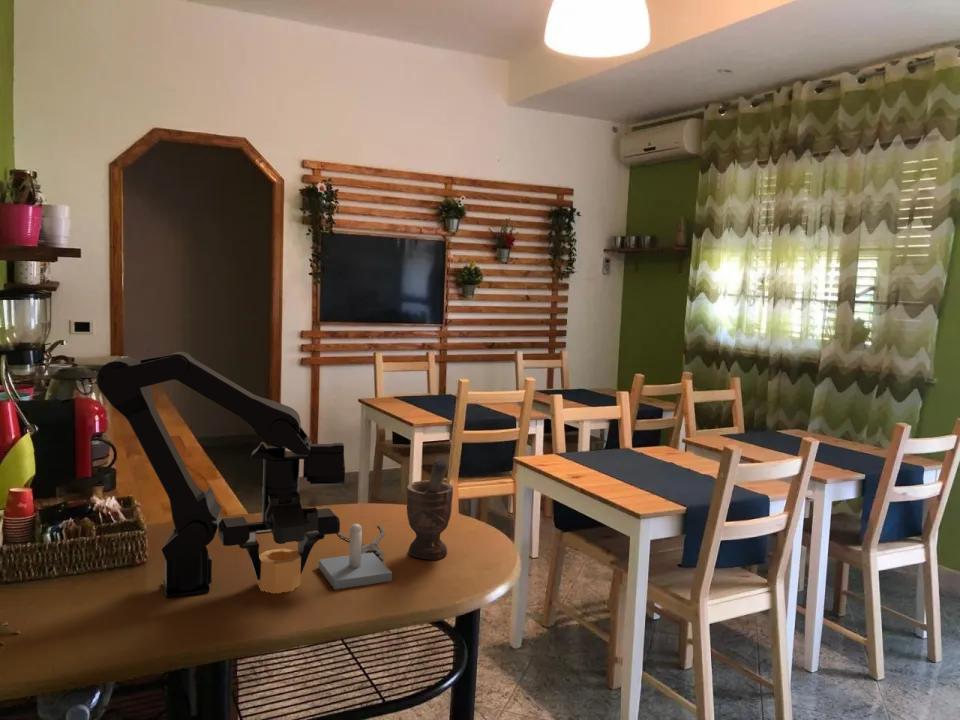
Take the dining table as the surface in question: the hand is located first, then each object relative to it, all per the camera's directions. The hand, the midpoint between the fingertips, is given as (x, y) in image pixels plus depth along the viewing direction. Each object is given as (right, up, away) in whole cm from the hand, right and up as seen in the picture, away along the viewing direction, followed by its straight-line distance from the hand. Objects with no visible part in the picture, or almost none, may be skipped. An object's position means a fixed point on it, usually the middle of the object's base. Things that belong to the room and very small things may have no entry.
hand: (279, 576), depth 125 cm
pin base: (+11, -1, +6) cm, 13 cm away
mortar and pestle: (+24, -1, +16) cm, 29 cm away
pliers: (+12, 0, +22) cm, 25 cm away
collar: (0, -2, 0) cm, 2 cm away
